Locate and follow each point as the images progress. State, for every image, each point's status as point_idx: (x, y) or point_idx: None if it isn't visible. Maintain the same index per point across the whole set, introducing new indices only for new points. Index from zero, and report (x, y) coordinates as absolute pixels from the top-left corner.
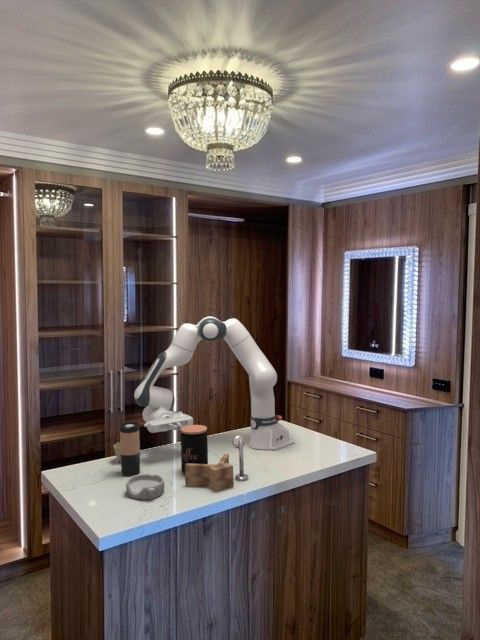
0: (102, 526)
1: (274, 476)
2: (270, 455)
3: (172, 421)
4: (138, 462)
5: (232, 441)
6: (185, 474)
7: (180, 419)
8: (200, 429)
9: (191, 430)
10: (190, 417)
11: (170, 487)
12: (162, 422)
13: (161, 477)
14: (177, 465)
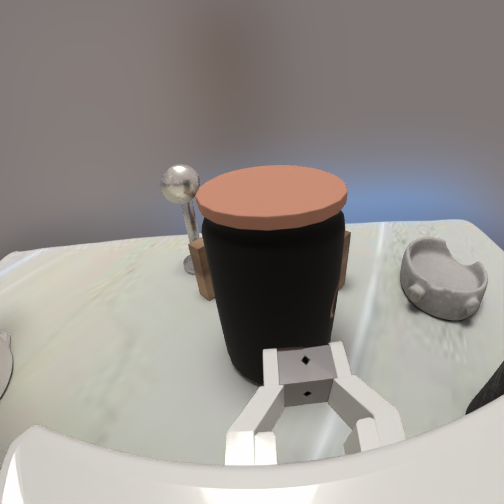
0: (474, 231)
1: (146, 250)
2: (39, 323)
3: (339, 466)
4: (491, 378)
5: (196, 179)
6: (346, 256)
7: (162, 491)
8: (253, 172)
9: (298, 174)
10: (24, 447)
11: (382, 291)
12: (486, 437)
13: (411, 263)
14: (307, 443)
